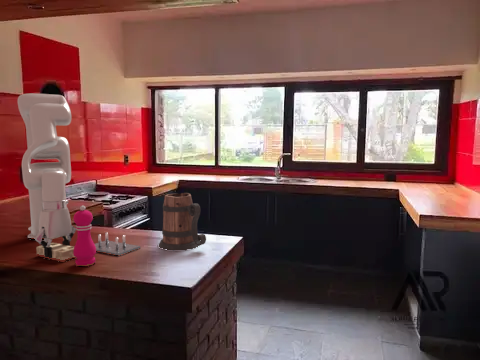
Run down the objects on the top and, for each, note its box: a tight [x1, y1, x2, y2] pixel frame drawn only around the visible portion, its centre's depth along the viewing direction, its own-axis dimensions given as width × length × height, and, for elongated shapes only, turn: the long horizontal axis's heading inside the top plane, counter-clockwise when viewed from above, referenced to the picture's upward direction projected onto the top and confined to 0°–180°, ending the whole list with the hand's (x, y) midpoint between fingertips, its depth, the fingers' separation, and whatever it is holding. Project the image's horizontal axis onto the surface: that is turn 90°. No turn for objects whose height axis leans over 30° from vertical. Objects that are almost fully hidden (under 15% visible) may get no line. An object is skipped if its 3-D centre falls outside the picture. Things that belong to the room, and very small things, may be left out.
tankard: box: [158, 192, 207, 251], centre depth 154 cm, size 24×17×20 cm
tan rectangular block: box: [36, 242, 75, 260], centre depth 142 cm, size 14×7×4 cm, turn 61°
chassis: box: [94, 232, 141, 256], centre depth 151 cm, size 18×11×6 cm, turn 61°
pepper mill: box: [72, 205, 97, 265], centre depth 133 cm, size 7×7×20 cm
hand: (57, 254), depth 142 cm, fingers closed on tan rectangular block, 6 cm apart
